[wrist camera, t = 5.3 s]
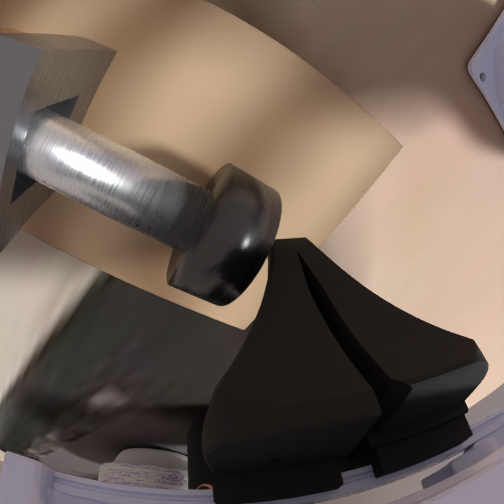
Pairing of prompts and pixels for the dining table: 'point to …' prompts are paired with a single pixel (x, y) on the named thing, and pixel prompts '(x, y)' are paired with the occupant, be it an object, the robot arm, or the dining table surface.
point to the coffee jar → (197, 459)
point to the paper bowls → (147, 469)
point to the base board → (207, 129)
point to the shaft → (161, 204)
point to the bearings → (39, 106)
